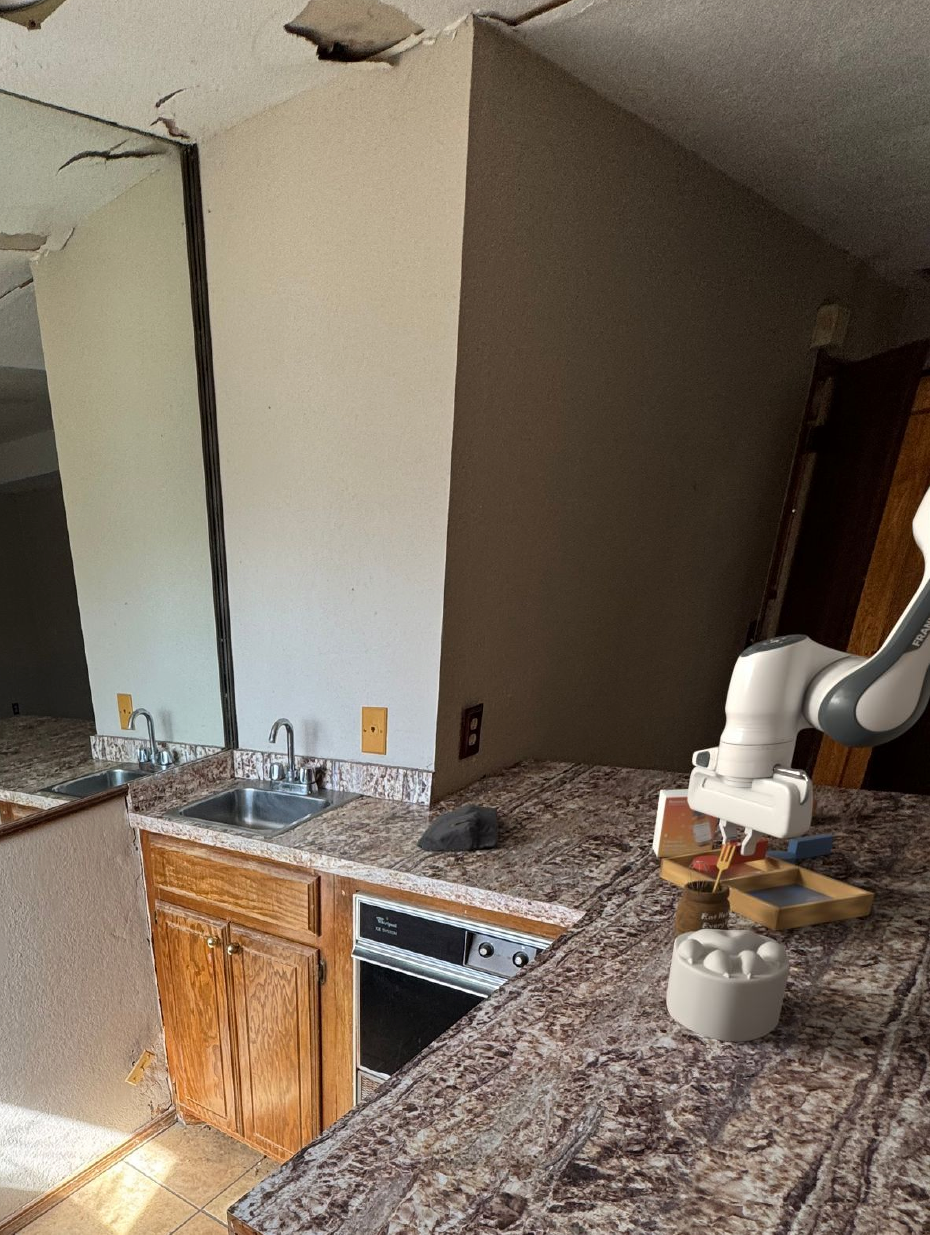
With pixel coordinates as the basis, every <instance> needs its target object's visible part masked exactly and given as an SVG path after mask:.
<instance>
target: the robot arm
mask: <svg viewBox="0 0 930 1235" xmlns="http://www.w3.org/2000/svg"><path fill="white" fill-rule="evenodd" d="M912 534H913V539H914V541H915V543H916V545H917V547H918V548H919V550H920V551H921V552H922V555H923V559H924V572H923V577H922V580H921V582H920V585H919V587H918V589H917V590H916V592H915V593H914V595H913V597H912V598H911V600H910V602H909V603H908V605H907V606H906V607H905V609H904V611H903V612H902V614H901V616H900V617H899V619H898V621H897V622H896V624H895V625H894V627H893V628H892V630H891V631H890V633H889V635H888V636H887V638H886V639H885V641H884V642H883V643H882V646H881V647H880V648H879V650H877V651H876V653H874V654H873V655H872V656H871V657H867V656H863V655H858V654H854V653H848V652H844V651H840V650H837V649H834V648H831V647H828V646H825V645H824V644H820V643H818V642H816V641H814V640H812V638H810V637H809V636H808V635H806V634H788V635H781V636H776V637H772V638H768V639H765V640H761V641H759V642H756V643H754V644H752V645H750V646H747V648H746V649H744V650H743V651H742V652H741V653H740V654H739V656H738V658H737V660H736V662H735V665H734V667H733V671H732V673H731V674H732V675H731V678H730V682H729V686H728V690H727V695H726V701H725V707H724V710H725V711H724V712H725V717H726V719H725V720H726V721H725V725H724V729H723V730H722V733H721V735H720V739H719V745H718V746H714V747H710V748H704V749H701V750H700V749H699V750H696V751H694V752H693V754H692V761H691V763H692V765H693V766H695V767H694V768H693V769H692V770H691V773H690V777H689V783H688V788H687V789H688V804H689V806H690V808H691V809H692V810H695V811H698V812H701V813H704V814H707V815H710V816H713V817H717V819H719V824H718V827H719V829H720V832H721V835H722V843H721V845H722V844H726V843H732V842H738V841H743V842H738V843H737V850H736V852H737V853H738V854H741V855H744V856H748V855H752V854H754V852H755V848H756V843H758V841H759V840H760V839H761V838H762V839H763V837H764V836H765V835H769V836H772V837H775V838H778V839H781V840H785V839H794V838H799V837H803V836H804V835H806V833H807V832H808V831H809V830H810V827H811V825H812V824H811V823H812V818H811V817H812V807H813V798H814V790H813V781H812V780H811V779H810V777H809V776H808V774H807V772H806V771H805V770H803V769H801V768H792V762H793V757H794V752H795V748H796V741H797V737H798V733H799V732H800V731H801V730H804V729H816V730H818V731H819V732H822V733H824V734H826V735H827V736H828V737H830V738H831V739H832V740H833V741H834V742H836V743H838V744H839V745H842V746H844V747H848V748H853V749H854V748H855V749H867V748H873V747H876V746H880V745H884V744H886V743H888V742H891V741H893V740H894V739H897V738H898V737H900V736H902V735H903V734H904V733H906V732H907V731H909V729H911V728H912V727H913V726H915V724H916V723H917V722H918V720H919V719H920V717H921V716H922V715H923V713H924V711H925V710H926V708H927V705H928V702H929V700H930V486H929V487H928V488H927V491H926V492H925V494H924V495H923V497H922V500H921V502H920V504H919V506H918V508H917V510H916V513H915V515H914V517H913V519H912ZM737 826H741V827H745V828H744V834H745V835H746V836H745V838H744V839H743V840H742V837H740V836H739V834H738V829H737V828H738V827H737Z"/></svg>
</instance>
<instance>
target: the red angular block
mask: <svg viewBox="0 0 930 1235" xmlns="http://www.w3.org/2000/svg"><path fill="white" fill-rule="evenodd" d="M743 841H744V840H741V841H738V842H743ZM738 842H732V843H726V844H727V846H726V849H725V852H724V855H723V858H722V861H723V860H724V857H725V854H726V851H727V849H728V846H729V845H731V849H730V852H729V855H728V858H727V862H728V860H729V857H730V854H731V851H732V849H733V846H736V848H735V851H734V854H733V858H732V861H731V864H730V865H733V864H739V863H745V862H752V861H758V860H764V859H765V856H766V852H767V850H768V844H769V840H768V839H766V838H763V837H762V838H761V839H760V840H759V841H758V843H756V848H755V852H754V854H752V855H748V856H744V855H741V854H738V853H737V852H736V850H737V843H738ZM723 846H724V844H722V843H721V848H720V849H721V852H722V849H723ZM718 860H719V856H700V857H696V858H694V861H702V862H701V863H700V862H699V863H698V862H695V863H694V861H693V867H694V868H696V869H699V867H700V870H704V871H706V870H707V871H720V869H719V868H718V867H717V863H718ZM704 862H705V866H704V865H703V864H704ZM702 863H703V864H702ZM706 863H707V864H706ZM694 865H695V866H694ZM708 866H709V869H708ZM705 867H706V868H705Z"/></svg>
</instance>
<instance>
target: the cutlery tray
mask: <svg viewBox="0 0 930 1235" xmlns="http://www.w3.org/2000/svg"><path fill="white" fill-rule="evenodd" d="M721 849H722V848H715V849H712V850H710V851H704V852H698V853H692V854H686V855H680V856H675V857H662V858H661V859H660V860H661V861H660V868H659V875H658V877H659V878H661V879H663V880H666V881H667V882H669V883H671V884H674V885H676V886H678V887H680V888H682V889H683V888H684V886H685V884H687V883H688V881H689V882H693V881H699V869H696V868H693V864H692V865H691V863H692V862H693V861H694V858H696V857H700V856H719V857H720V855H721ZM690 865H691V867H689V866H690ZM688 868H689V869H688ZM692 869H693V870H692ZM704 874H705V878H704ZM718 874H719V871H707V881H716V880H717V877H718ZM690 877H691V880H690ZM708 877H709V879H708ZM702 880H706V871H704V870H700V881H702ZM720 882H721V883H724V884H726V885H727V886H729V889H730V895H729V897H728V898H727V899H728V900H729V902H730V911H731V912H733V913H735V914H738V915H739V916H742V917H744V918H746V919H748V920H750V921H752V922H755V923H756V924H759V925H761V926H763V927H765V928H767V929H770V930H771V931H773V932H776V931H783V930H790V929H796V928H802V927H807V926H813V925H819V924H824V923H830V922H836V921H837V922H838V921H843V920H848V919H854V918H860V917H861V918H862V917H866V916H870V913H871V909H872V905H873V902H874V898H875V893H874V892H871V891H868V890H865V889H863V888H860V887H857V886H854V885H852V884H848V883H847V882H843V881H841V880H838V879H834V878H832V877H830V876H827V875H824V874H822V873H819V872H815V871H813V870H810V869H808V868H805V867H802V866H799V865H796V864H794V863H793V864H791V863H788V862H785V861H782V860H780V859H777V858H774V857H771V856H769V855H766V856H765V859H764V860H758V861H752V862H745V863H739V864H733V865H730V867H729V868H728V869H726V870H724V871H723V873H722V876H721V879H720Z"/></svg>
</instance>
